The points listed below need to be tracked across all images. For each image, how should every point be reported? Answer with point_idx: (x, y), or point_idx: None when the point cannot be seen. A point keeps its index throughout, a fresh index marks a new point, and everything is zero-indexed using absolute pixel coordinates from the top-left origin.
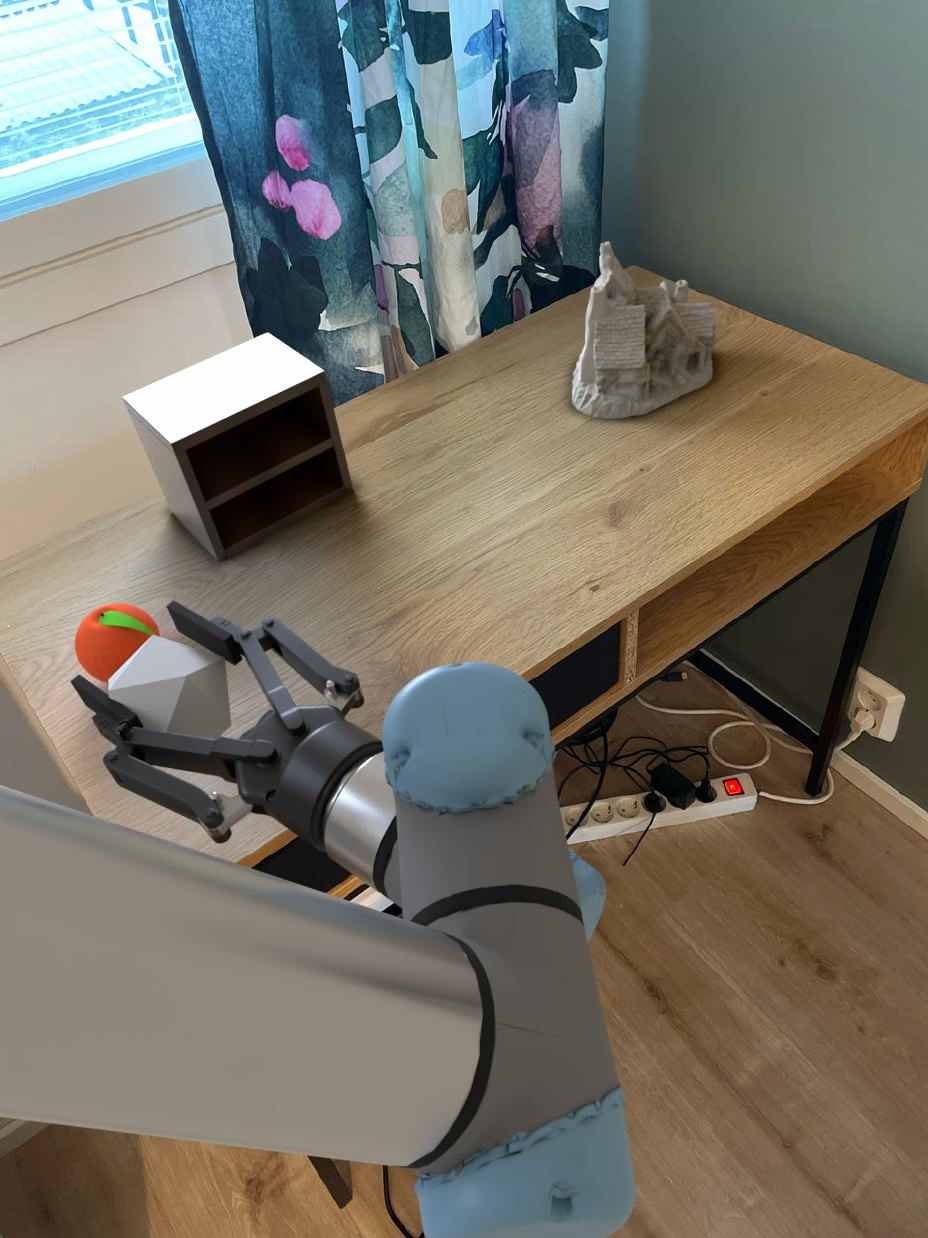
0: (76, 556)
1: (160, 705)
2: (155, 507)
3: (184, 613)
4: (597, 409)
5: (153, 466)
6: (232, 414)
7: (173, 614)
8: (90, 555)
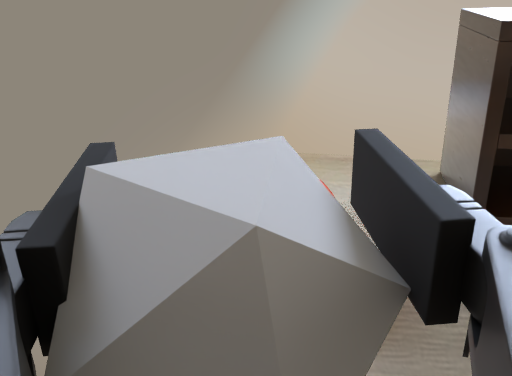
0: (325, 165)
1: (135, 270)
2: (425, 163)
3: (380, 147)
4: None
5: (450, 104)
6: None
7: (358, 152)
8: (337, 169)
